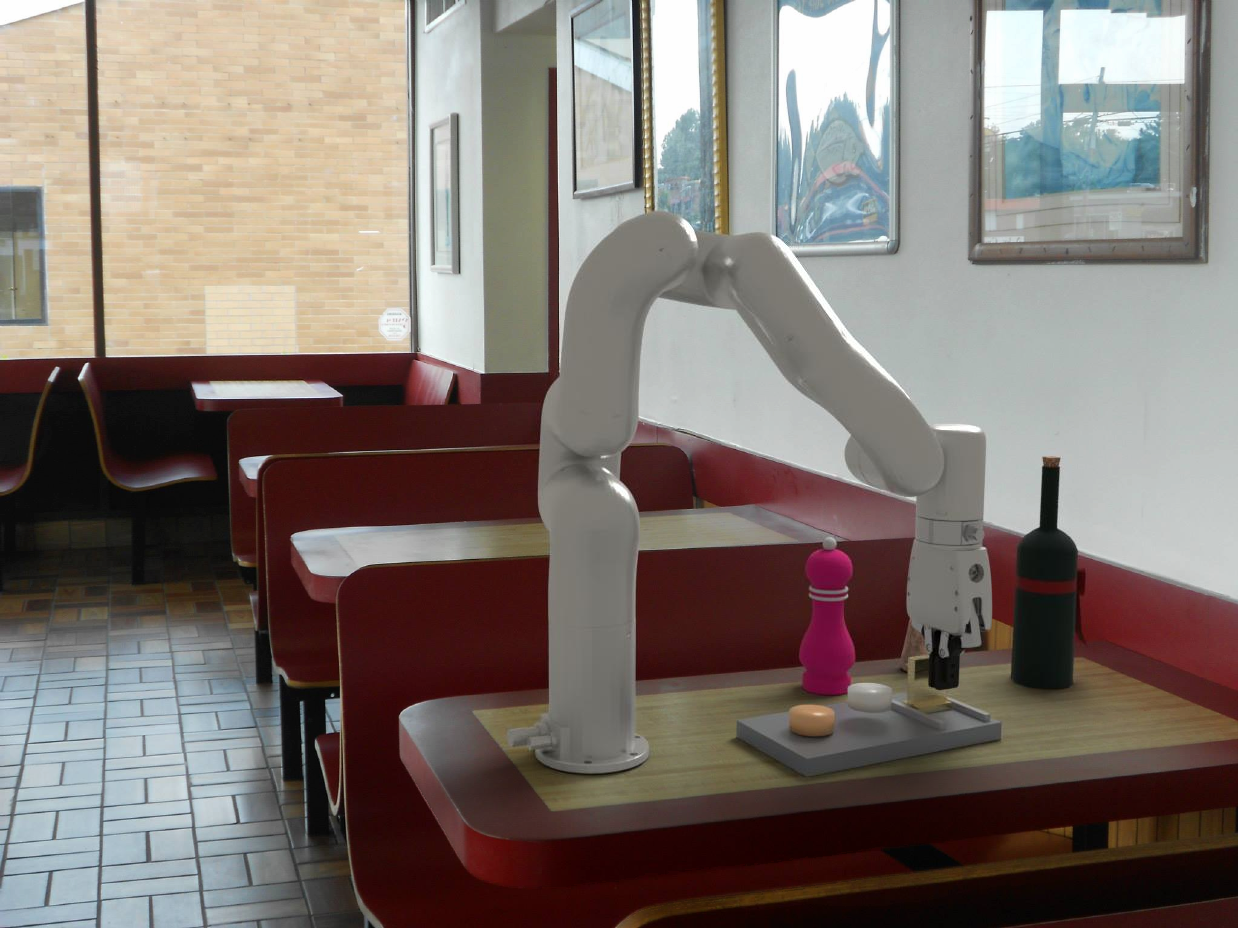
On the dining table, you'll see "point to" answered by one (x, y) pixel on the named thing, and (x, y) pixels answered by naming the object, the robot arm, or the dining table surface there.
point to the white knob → (869, 697)
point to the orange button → (811, 720)
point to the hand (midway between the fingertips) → (943, 686)
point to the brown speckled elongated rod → (912, 646)
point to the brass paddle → (923, 688)
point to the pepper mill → (827, 623)
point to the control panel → (869, 735)
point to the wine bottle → (1047, 596)
